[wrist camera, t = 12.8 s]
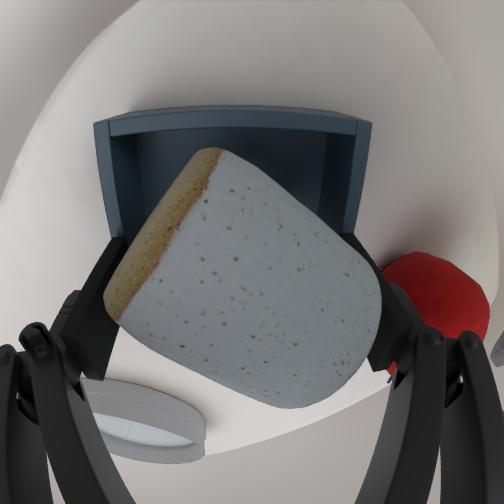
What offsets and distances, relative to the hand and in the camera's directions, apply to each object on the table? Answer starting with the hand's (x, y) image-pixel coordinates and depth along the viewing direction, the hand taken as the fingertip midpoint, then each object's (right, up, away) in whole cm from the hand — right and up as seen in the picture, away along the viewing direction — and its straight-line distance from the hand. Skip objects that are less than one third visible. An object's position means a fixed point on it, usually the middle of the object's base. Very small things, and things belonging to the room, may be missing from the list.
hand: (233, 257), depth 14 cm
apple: (+14, -2, +9) cm, 16 cm away
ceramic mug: (0, 0, 0) cm, 1 cm away
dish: (-17, -24, +20) cm, 36 cm away
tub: (0, +3, +4) cm, 5 cm away
